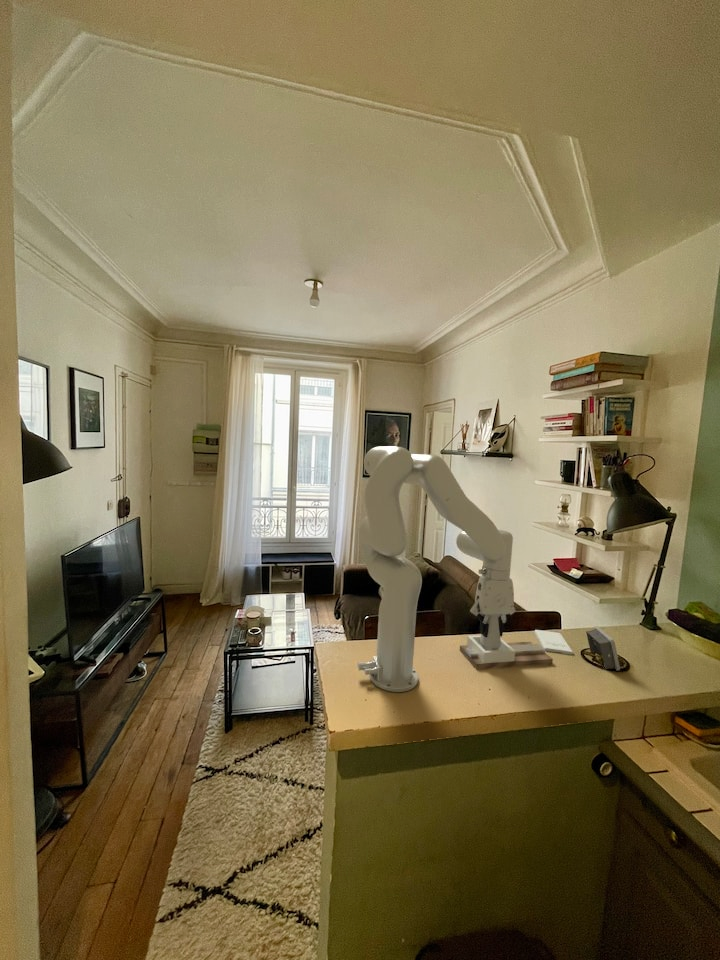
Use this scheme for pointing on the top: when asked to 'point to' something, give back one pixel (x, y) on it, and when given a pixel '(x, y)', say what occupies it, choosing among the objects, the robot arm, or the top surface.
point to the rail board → (519, 661)
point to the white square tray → (491, 651)
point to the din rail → (518, 649)
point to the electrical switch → (603, 647)
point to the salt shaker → (492, 634)
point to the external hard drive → (553, 642)
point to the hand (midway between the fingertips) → (491, 634)
